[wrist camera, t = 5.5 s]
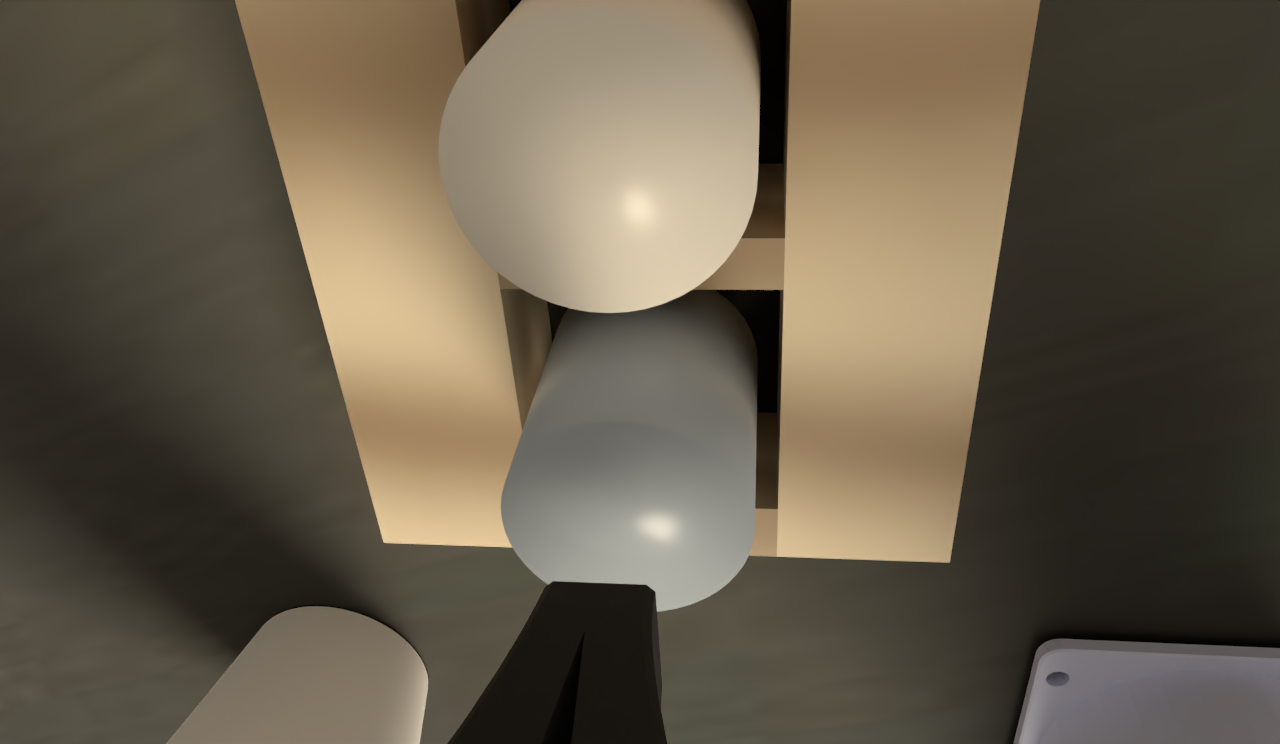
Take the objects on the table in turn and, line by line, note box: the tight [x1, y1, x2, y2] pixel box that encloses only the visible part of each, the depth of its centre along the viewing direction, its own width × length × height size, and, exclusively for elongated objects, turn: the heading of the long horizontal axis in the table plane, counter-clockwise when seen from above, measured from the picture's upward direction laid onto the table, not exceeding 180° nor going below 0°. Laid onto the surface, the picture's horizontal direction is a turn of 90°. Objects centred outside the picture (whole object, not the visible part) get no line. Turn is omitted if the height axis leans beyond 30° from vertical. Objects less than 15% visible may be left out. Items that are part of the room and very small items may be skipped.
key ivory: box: [439, 0, 761, 313], centre depth 13 cm, size 4×4×4 cm
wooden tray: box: [235, 0, 1040, 563], centre depth 15 cm, size 18×11×3 cm, turn 3°
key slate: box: [501, 290, 758, 611], centre depth 16 cm, size 4×4×4 cm
